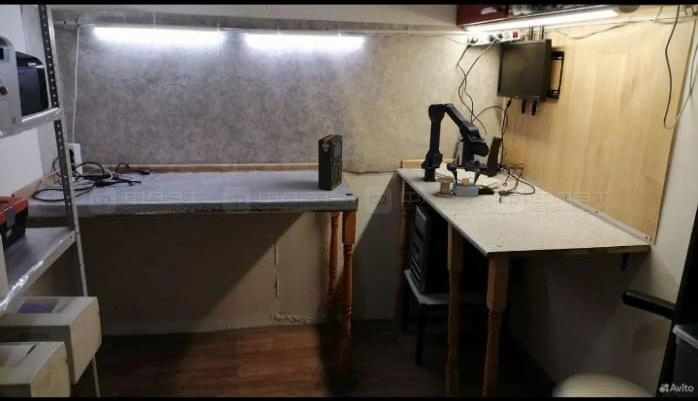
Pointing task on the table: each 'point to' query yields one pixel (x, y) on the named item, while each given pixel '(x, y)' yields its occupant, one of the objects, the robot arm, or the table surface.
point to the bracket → (465, 189)
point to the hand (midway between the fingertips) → (465, 184)
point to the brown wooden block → (465, 182)
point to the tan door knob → (444, 187)
